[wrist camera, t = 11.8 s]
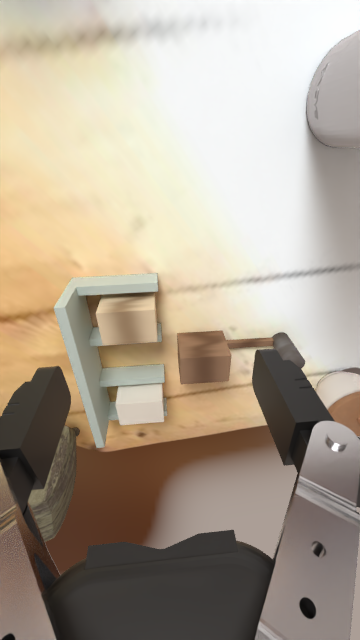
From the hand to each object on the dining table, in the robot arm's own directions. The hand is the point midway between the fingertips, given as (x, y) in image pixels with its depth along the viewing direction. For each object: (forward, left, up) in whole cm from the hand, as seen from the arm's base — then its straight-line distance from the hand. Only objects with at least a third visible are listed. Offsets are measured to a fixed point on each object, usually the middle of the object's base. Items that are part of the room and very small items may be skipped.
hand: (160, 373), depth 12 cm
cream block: (+4, +27, -26) cm, 38 cm away
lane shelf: (+5, +19, -26) cm, 33 cm away
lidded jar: (-31, +30, -27) cm, 51 cm away
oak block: (+4, +11, -26) cm, 29 cm away
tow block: (-11, +19, -26) cm, 34 cm away
